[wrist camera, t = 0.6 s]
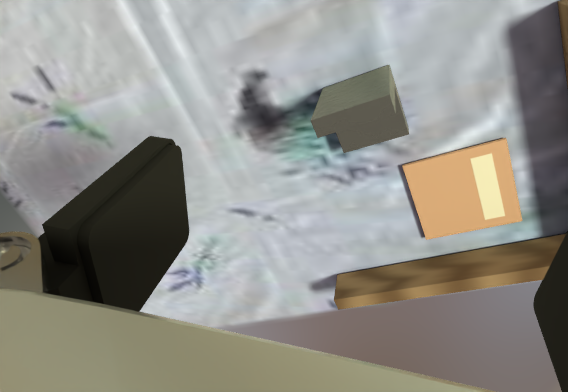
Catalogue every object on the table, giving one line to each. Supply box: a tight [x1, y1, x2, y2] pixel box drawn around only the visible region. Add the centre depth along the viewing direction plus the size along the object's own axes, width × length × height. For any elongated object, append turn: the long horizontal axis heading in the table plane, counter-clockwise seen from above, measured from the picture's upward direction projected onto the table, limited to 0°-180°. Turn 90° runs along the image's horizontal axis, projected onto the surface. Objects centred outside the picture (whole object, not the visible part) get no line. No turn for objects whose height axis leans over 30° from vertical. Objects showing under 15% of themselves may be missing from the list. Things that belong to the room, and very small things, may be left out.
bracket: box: [311, 65, 409, 153], centre depth 35 cm, size 6×6×8 cm
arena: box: [334, 0, 568, 309], centre depth 39 cm, size 26×23×4 cm
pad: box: [402, 138, 522, 240], centre depth 41 cm, size 9×9×1 cm
